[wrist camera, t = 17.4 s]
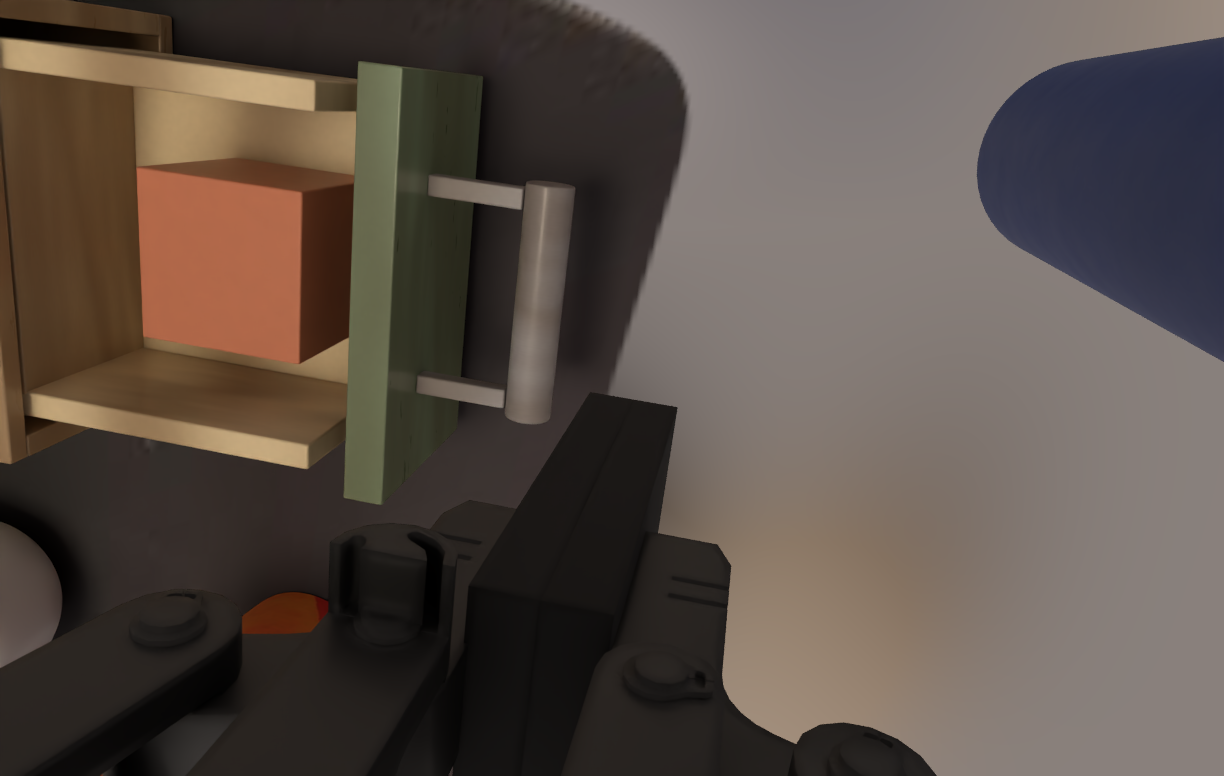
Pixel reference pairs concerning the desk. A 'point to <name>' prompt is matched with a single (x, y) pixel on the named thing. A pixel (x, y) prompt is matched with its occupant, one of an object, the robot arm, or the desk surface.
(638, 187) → the desk surface
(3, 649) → the teacup
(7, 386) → the cabinet
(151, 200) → the block
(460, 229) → the drawer
